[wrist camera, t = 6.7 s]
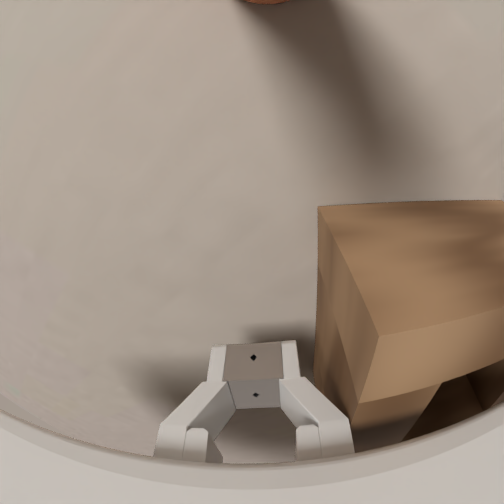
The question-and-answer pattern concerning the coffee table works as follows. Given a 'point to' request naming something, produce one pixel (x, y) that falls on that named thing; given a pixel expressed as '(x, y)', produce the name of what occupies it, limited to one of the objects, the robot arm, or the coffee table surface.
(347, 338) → the block
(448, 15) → the coffee table surface
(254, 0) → the orange rounded capsule
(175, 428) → the robot arm
